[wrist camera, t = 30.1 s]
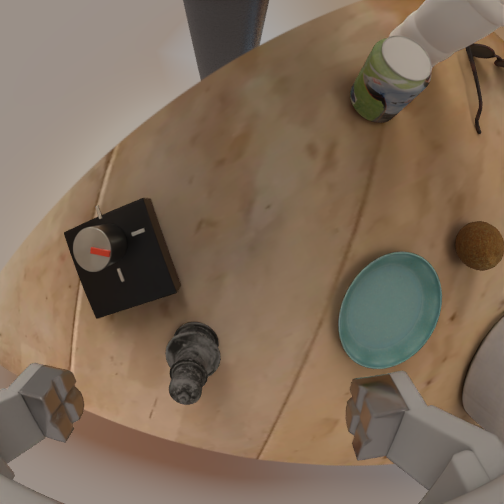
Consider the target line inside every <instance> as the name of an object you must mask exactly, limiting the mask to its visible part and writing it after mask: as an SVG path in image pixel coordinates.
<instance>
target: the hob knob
mask: <svg viewBox="0 0 504 504" xmlns="http://www.w3.org/2000/svg"><path fill="white" fill-rule="evenodd" d="M126 249H127V240H126V237H125V234H124V233H123V231H122V230H121V229H120V228H119V227H118V226H116V225H113V224H104V225H98V226H93V227H87V228H84V229H83V230H81V231H80V232H79V233H78V234H77V236H76V238H75V240H74V244H73V253H74V257H75V259H76V261H77V263H78V264H79V265H80V266H81V267H82V268H83V269H85V270H87V271H90V272H97V271H100V270H102V269H104V268H106V267H108V266H110V265H112V264H113V263H115V262H117V261H119V260H120V259H121V258H122V257H123V256H124V254H125V252H126Z"/></svg>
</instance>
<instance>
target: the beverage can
mask: <svg viewBox="0 0 504 504" xmlns="http://www.w3.org/2000/svg"><path fill="white" fill-rule="evenodd" d="M431 70H432V64H431V60H430V58H429V56H428V54H427V52H426V51H425V50H424V49H423V48H422V47H421V46H420V45H419V44H418V43H417V42H415V41H414V40H412V39H410V38H407V37H404V36H398V35H396V36H391V37H388V38H385V39H382V40H380V41H379V42H377V43H376V44H375V45H374V47H373V49H372V51H371V53H370V54H369V56H368V58H367V60H366V62H365V64H364V65H363V67H362V69H361V71H360V73H359V75H358V77H357V78H356V80H355V82H354V84H353V86H352V88H351V91H350V98H351V102H352V104H353V107H354V108H355V110H356V111H357V112H358V113H359V114H360V115H361V116H362V117H364V118H365V119H367V120H370V121H372V122H378V123H382V122H387V121H389V120H391V119H392V118H393V117H394V116H396V115H397V114H398V113H399V112H400V111H401V110H402V109H403V108H404V107H405V106H406V105H408V104H409V103H410V102H411V101H412V100H413V99H414V98H415V97H416V96H417V95H419V94H420V93H421V92H422V91H423V90H424V89H425V88H426V87H427V86H428V84H429V82H430V80H431Z"/></svg>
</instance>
